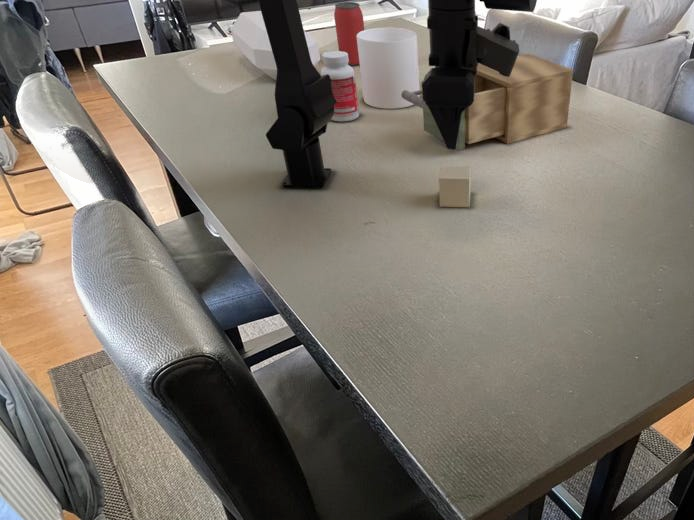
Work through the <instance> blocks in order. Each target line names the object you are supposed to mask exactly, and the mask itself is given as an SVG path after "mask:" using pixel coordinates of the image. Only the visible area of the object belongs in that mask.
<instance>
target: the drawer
mask: <svg viewBox="0 0 694 520" xmlns="http://www.w3.org/2000/svg"><path fill="white" fill-rule="evenodd" d="M474 77H475V95H474V102H473V104H472V105H471V106H470V107H468V108H466V109H465V110H464V111H463V112H462V115H461V121H460V126H459V132H458V138H457V144H456V148H455V150H458V151H461V150H465V148H466V144H468V145H471V144H475V143H477V142H481V141H482V142H483V141H485V140H489V139H494V138H495V137H497V136H501V135H504V134H505V123H506V98H507V87H505V86H503V85H500V84H498V83H496V82H493V81H491V80H488V79H486V78H484V77H481V76H479V75H476V74H475V75H474ZM422 83H423V81H421V84H422ZM417 95H420V97H419V96H417ZM401 96H402V98H403V99H405V100H407V101H409V102H411V103H413V104H414V105H415V106H416V107H419V108H420V109H422V118H423V119H422V120H423V131H424V132H426V133H428V134H430V135H431V136H433V137H435V138H437V139H438V140H440V141H442V142H444V140H443V137H442V135H441V133H440V131H439V129H438V126H437V124H436V122H435V120H434V118H433V116H432V114H431V112H430V110H429V108H428V106H427V105H426V103H425V101H423V91H422V89H420V90H417V91H413V92H409V91H407V90H404V91H403V92H402V94H401ZM414 105H413V106H414Z"/></svg>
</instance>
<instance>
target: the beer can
mask: <svg viewBox="0 0 694 520" xmlns="http://www.w3.org/2000/svg"><path fill="white" fill-rule="evenodd" d="M334 7H335V8H334V13H333V17H334V24H335V32H336V40H337V47H338V51H342V52H346V53H348V58H349V62H348V65H349V66H360V62H359V54H358V45H357V34H358V33H359V32H361V31H364V30H365V22H364V15H363V12H362V9H361V7H360V4H359V2H354V1H343V2H338V3H336V4H334Z"/></svg>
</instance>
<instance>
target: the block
mask: <svg viewBox="0 0 694 520" xmlns="http://www.w3.org/2000/svg"><path fill="white" fill-rule="evenodd" d="M438 193H439V194H438V195H439V207H440V208H441V207H442V208H470V203H471V166H463V165H462V166H461V165H459V166H458V165H457V166H456V165H441V166H440V171H439V174H438Z"/></svg>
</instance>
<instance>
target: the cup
mask: <svg viewBox="0 0 694 520" xmlns="http://www.w3.org/2000/svg"><path fill="white" fill-rule="evenodd" d="M357 45H358V54H359V62H360V65H359V68H360V78H361V87H362V96H363V101H364V103H365V104H366V105H368V106H370V107H373V108H377V109H386V110H387V109H388V110H392V109H393V110H394V109H404V108H407V107H411V106H414V104H413V103H411V102H409V101H407V100H405V99H403V98H402V96H401V94H402V92H403V91H404V90H407V91H409V92H413V91H417V90H421V88H420V72H419V70H420V69H419V53H418V50H419V49H418V34H417V33H416V32H415V31H414V30H412V29H408V28H403V27H389V26H388V27H386V26H385V27H374V28H368V29H364V31H361V32H359V33H358V34H357ZM417 96H419V97H421V95H417Z"/></svg>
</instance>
